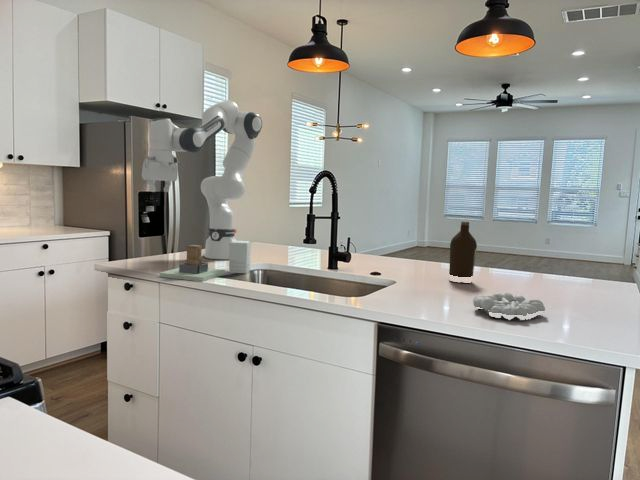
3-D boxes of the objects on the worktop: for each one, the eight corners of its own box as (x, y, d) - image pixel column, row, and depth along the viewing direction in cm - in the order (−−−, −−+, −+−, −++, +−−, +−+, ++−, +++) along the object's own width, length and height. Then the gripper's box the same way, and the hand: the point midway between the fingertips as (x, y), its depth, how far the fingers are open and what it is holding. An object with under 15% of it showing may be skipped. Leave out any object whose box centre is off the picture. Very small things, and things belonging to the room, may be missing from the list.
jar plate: (185, 269, 203) (185, 265, 203) (225, 273, 198) (225, 270, 198) (159, 276, 186) (159, 272, 186) (202, 281, 181) (203, 277, 181)
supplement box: (250, 270, 208) (251, 241, 206) (246, 274, 200) (247, 242, 199) (233, 269, 208) (234, 240, 207) (228, 272, 201) (229, 241, 200)
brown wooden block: (191, 270, 194) (192, 244, 193) (200, 271, 193) (201, 245, 192) (186, 271, 191) (186, 245, 189) (195, 272, 189) (196, 246, 188)
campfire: (476, 302, 169) (477, 285, 168) (543, 311, 161) (545, 294, 160) (468, 318, 149) (470, 299, 148) (544, 329, 141) (547, 309, 140)
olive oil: (451, 283, 201) (456, 222, 199) (444, 278, 212) (448, 220, 209) (477, 284, 202) (482, 223, 199) (468, 279, 212) (473, 221, 210)
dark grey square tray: (189, 268, 197) (189, 261, 197) (208, 270, 195) (209, 263, 194) (177, 272, 189) (178, 264, 189) (197, 274, 187) (198, 266, 186)
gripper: (152, 156, 192) (151, 192, 193) (180, 159, 211) (180, 192, 213) (137, 155, 193) (137, 191, 195) (167, 159, 213) (167, 191, 214)
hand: (159, 191), depth 204 cm, fingers open, 8 cm apart
